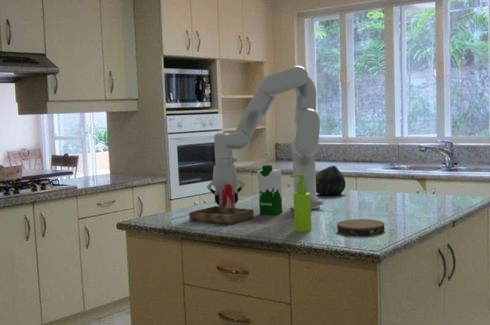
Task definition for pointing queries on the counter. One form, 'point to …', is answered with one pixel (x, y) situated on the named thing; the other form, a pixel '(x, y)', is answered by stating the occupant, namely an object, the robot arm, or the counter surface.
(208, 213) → the walnut tray
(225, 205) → the soda can
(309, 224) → the soap dispenser
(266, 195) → the milk carton
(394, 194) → the counter surface
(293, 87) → the robot arm
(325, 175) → the squash
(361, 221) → the brown round disc
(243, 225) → the counter surface
